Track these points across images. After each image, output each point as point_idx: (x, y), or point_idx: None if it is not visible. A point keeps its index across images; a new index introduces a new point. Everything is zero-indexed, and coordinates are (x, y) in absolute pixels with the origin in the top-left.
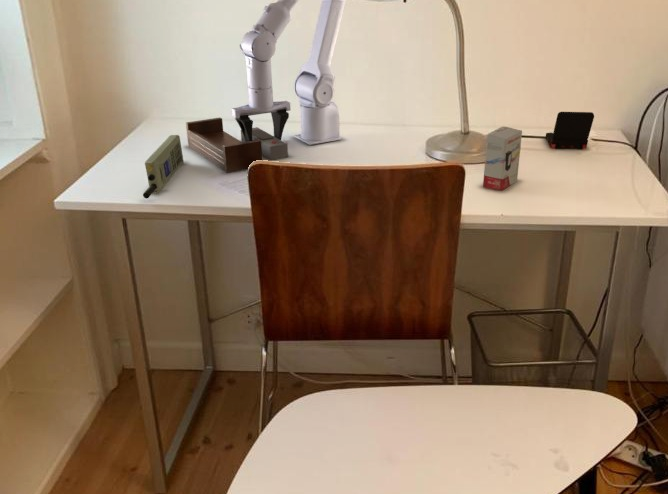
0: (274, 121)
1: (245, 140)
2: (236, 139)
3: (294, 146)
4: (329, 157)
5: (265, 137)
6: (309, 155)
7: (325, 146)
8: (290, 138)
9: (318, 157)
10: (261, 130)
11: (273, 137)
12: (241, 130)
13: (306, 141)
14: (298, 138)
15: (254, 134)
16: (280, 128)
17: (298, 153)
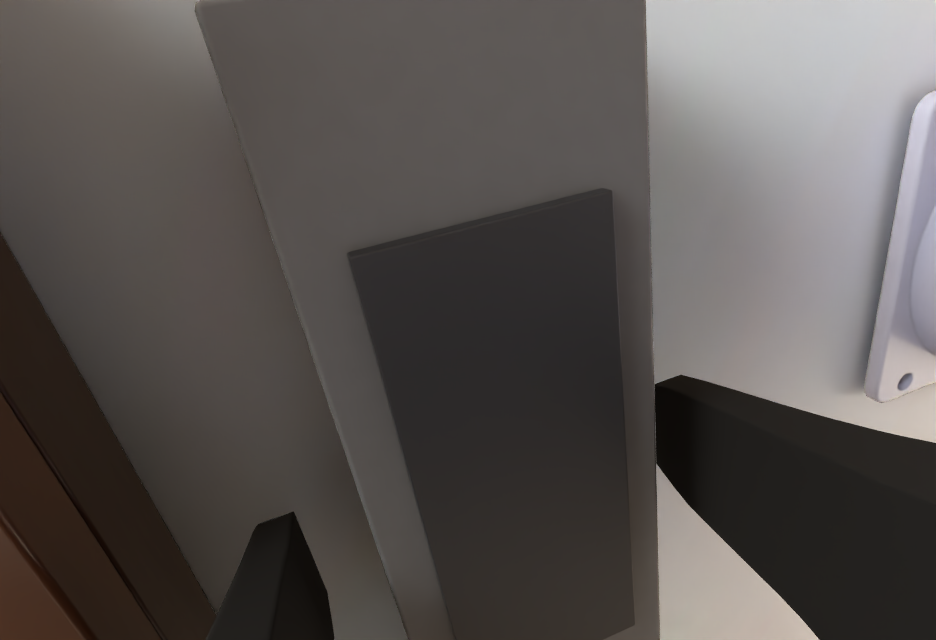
0: (914, 559)
1: (237, 579)
2: (47, 633)
3: (757, 386)
4: (805, 632)
5: (539, 632)
6: (733, 599)
7: (921, 425)
8: (864, 105)
9: (757, 634)
10: (615, 294)
11: (627, 628)
12: (215, 66)
13: (890, 348)
14: (903, 204)
15: (430, 502)
16: (818, 624)
17: (694, 559)
